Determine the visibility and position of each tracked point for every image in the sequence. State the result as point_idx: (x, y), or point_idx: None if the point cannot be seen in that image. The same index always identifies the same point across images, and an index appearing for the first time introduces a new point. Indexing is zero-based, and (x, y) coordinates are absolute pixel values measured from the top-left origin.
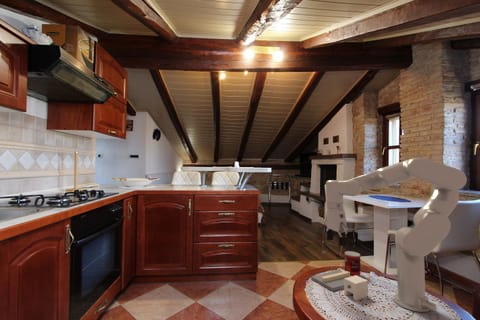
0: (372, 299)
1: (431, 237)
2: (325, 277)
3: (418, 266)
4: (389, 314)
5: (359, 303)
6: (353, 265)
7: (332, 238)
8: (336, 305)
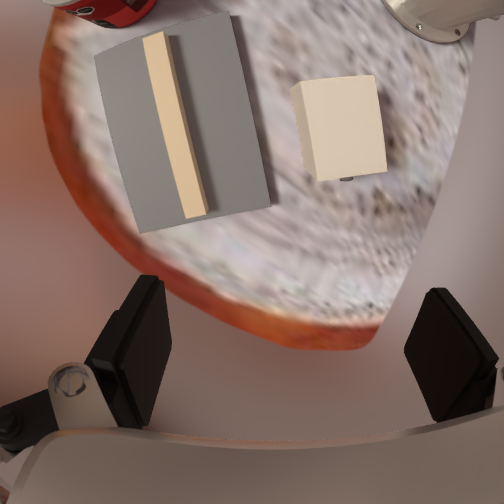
0: None
1: None
2: (194, 200)
3: None
4: (454, 125)
5: None
6: None
7: (158, 302)
8: (362, 254)
